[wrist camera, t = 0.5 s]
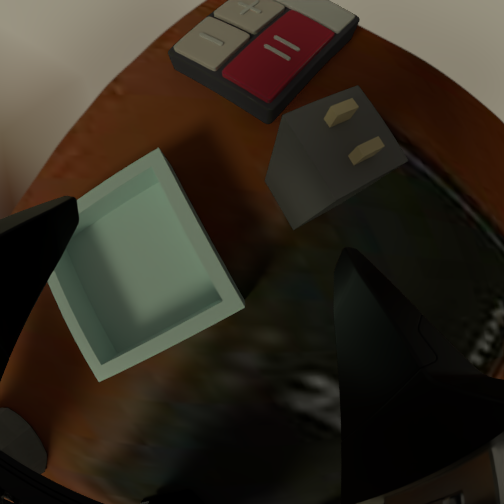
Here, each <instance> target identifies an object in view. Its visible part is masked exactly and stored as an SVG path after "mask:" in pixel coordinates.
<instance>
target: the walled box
mask: <svg viewBox="0 0 504 504" xmlns="http://www.w3.org/2000/svg"><path fill="white" fill-rule="evenodd" d="M77 205H78V213H79V224H78V226H77V228H76V230H75V232H74V234H73V235H72V237H71V239H70V241H69V243H68V245H67V247H66V249H65V251H64V253H63V255H62V257H61V259H60V261H59V262H58V264H57V266H56V267H55V269H54V271H53V272H52V274H51V276H50V278H49V279H48V284H49V286H50V288H51V291H52V293H53V295H54V298H55V300H56V302H57V304H58V307H59V309H60V311H61V313H62V315H63V317H64V319H65V321H66V323H67V326H68V328H69V330H70V332H71V333H72V335H73V337H74V339H75V341H76V343H77V345H78V347H79V349H80V350H81V352H82V354H83V356H84V358H85V359H86V361H87V363H88V365H89V366H90V368H91V370H92V372H93V373H94V375H95V377H96V378H97V380H98V381H99V382H100V381H102V380H105V379H107V378H109V377H111V376H113V375H115V374H117V373H119V372H121V371H123V370H125V369H127V368H130V367H132V366H134V365H136V364H138V363H140V362H142V361H144V360H146V359H148V358H150V357H152V356H154V355H156V354H158V353H160V352H162V351H164V350H166V349H168V348H169V347H171V346H173V345H175V344H177V343H179V342H181V341H183V340H185V339H187V338H189V337H191V336H193V335H195V334H196V333H198V332H200V331H202V330H204V329H206V328H208V327H210V326H212V325H213V324H215V323H217V322H219V321H221V320H223V319H225V318H226V317H228V316H230V315H232V314H234V313H236V312H237V311H239V310H241V309H243V308H245V300H244V298H243V297H242V295H241V293H240V291H239V289H238V288H237V286H236V284H235V282H234V281H233V279H232V277H231V275H230V273H229V272H228V270H227V268H226V266H225V264H224V263H223V261H222V259H221V257H220V255H219V254H218V252H217V250H216V248H215V246H214V245H213V243H212V241H211V239H210V237H209V235H208V234H207V232H206V230H205V228H204V226H203V224H202V222H201V221H200V219H199V217H198V215H197V213H196V211H195V209H194V208H193V206H192V204H191V202H190V200H189V198H188V196H187V194H186V193H185V191H184V189H183V187H182V185H181V183H180V181H179V179H178V177H177V176H176V174H175V172H174V170H173V168H172V166H171V164H170V163H169V162H168V160H167V159H166V157H165V156H164V154H163V153H162V152H161V150H160V149H159V148H157V149H156V150H154V151H152V152H150V153H149V154H147V155H145V156H144V157H142V158H140V159H139V160H137V161H135V162H134V163H132V164H131V165H129V166H127V167H126V168H124V169H123V170H121V171H119V172H118V173H116V174H115V175H113V176H112V177H110V178H109V179H107V180H106V181H104V182H103V183H101V184H100V185H98V186H97V187H95V188H94V189H92V190H91V191H89V192H88V193H87V194H85V195H84V196H82V197H81V198H80V199H78V200H77Z"/></svg>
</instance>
